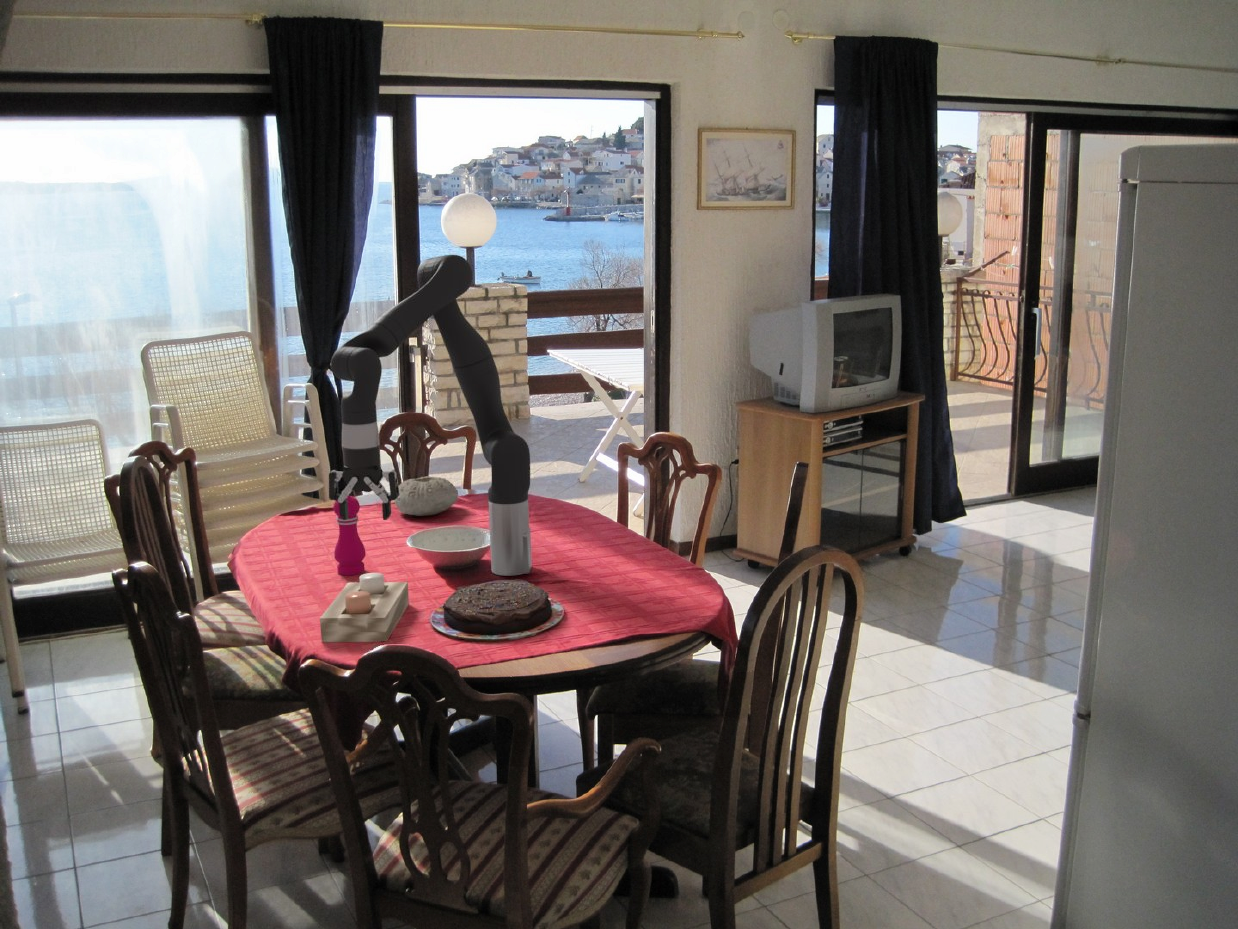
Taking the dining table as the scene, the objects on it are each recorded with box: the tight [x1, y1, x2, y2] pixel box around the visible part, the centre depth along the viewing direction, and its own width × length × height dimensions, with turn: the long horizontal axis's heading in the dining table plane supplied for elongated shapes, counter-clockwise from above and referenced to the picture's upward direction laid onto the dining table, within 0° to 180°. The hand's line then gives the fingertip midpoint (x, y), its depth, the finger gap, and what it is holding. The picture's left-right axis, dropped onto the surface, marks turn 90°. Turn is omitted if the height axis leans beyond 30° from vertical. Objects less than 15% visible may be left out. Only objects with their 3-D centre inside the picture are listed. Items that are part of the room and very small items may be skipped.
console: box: [319, 581, 410, 643], centre depth 243 cm, size 13×22×5 cm, turn 178°
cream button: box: [359, 572, 385, 594], centre depth 248 cm, size 5×5×3 cm
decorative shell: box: [393, 475, 459, 517], centre depth 327 cm, size 18×18×10 cm
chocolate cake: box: [429, 578, 565, 644], centre depth 244 cm, size 28×28×7 cm
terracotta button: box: [345, 591, 371, 614], centre depth 236 cm, size 5×5×3 cm
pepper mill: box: [333, 489, 366, 577], centre depth 275 cm, size 7×7×20 cm
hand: (365, 519), depth 245 cm, fingers open, 8 cm apart
